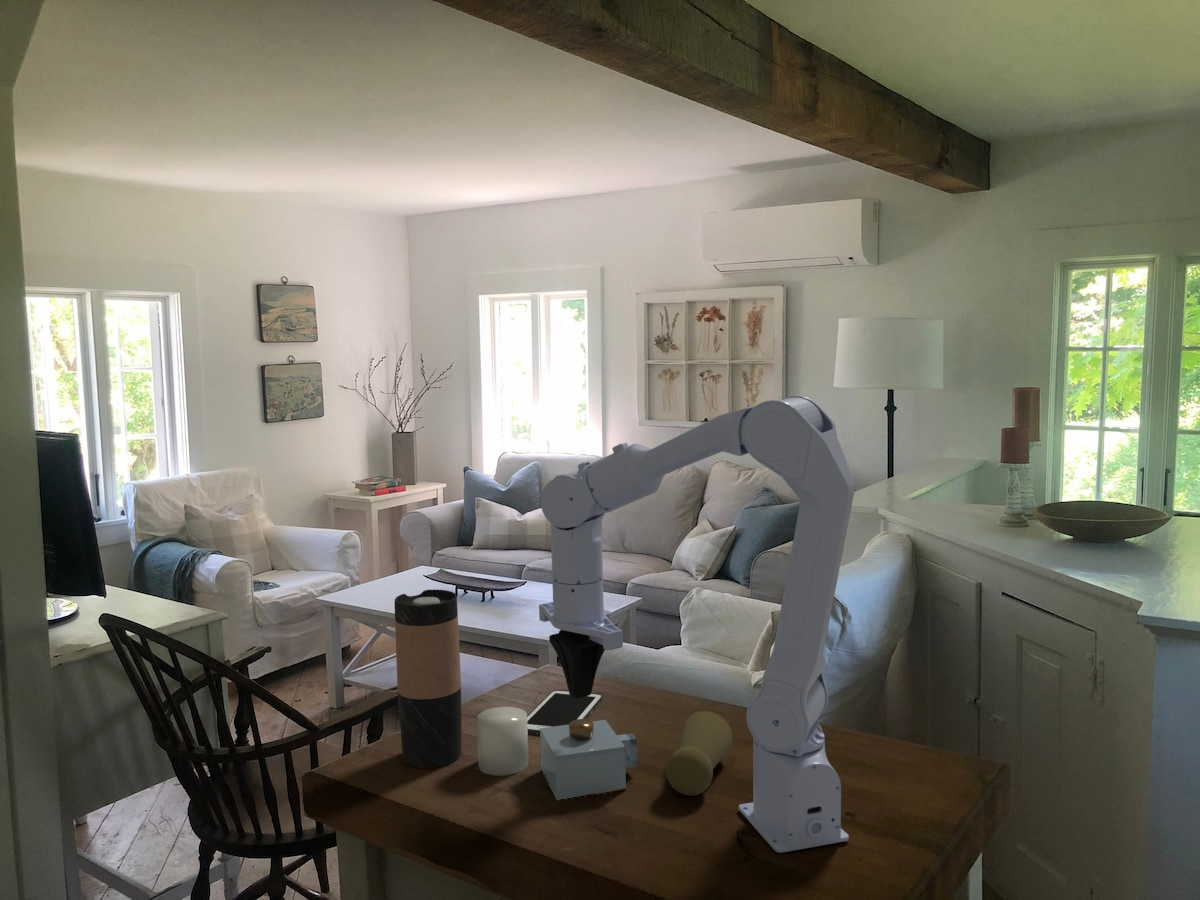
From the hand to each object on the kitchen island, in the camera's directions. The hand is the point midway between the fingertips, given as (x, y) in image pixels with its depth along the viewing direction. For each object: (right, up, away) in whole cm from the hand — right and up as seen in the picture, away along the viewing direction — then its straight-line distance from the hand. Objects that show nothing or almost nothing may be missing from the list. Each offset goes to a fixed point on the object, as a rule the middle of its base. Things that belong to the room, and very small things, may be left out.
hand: (580, 695), depth 106 cm
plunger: (0, -9, +1) cm, 9 cm away
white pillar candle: (-9, -10, +6) cm, 15 cm away
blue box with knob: (+1, -10, +1) cm, 10 cm away
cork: (+15, -6, +6) cm, 17 cm away
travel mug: (-18, -10, +8) cm, 23 cm away
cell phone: (-3, -9, +21) cm, 23 cm away
